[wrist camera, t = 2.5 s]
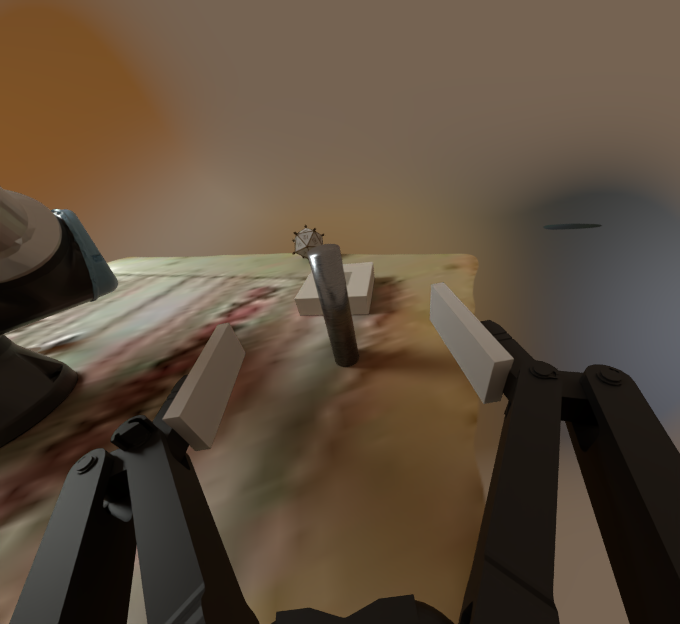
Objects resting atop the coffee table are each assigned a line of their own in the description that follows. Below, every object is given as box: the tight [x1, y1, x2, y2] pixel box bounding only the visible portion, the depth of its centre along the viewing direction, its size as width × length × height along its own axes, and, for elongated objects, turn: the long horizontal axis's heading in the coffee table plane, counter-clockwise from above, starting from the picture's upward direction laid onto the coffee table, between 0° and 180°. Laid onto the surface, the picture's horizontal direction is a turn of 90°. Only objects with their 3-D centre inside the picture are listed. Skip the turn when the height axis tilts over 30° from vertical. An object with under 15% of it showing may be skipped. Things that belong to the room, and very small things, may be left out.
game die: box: [293, 225, 324, 258], centre depth 60 cm, size 9×8×10 cm
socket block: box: [295, 262, 375, 316], centre depth 44 cm, size 12×12×4 cm
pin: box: [307, 244, 359, 367], centre depth 28 cm, size 3×3×15 cm
